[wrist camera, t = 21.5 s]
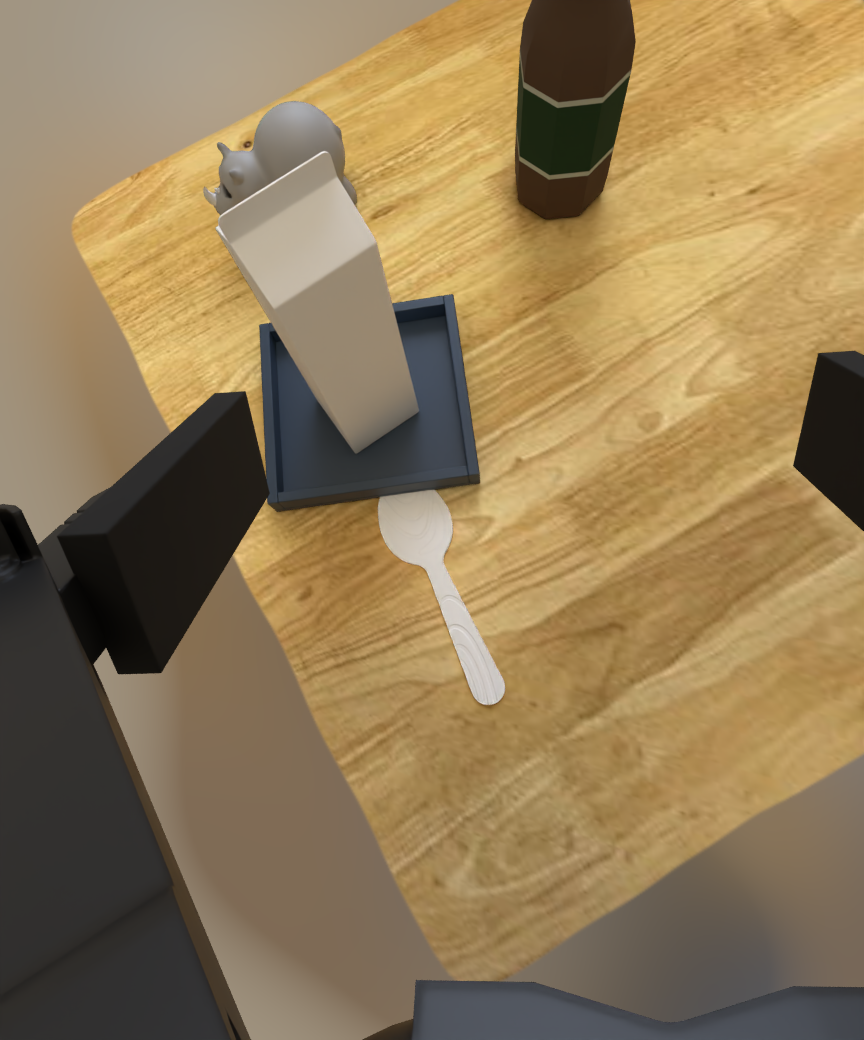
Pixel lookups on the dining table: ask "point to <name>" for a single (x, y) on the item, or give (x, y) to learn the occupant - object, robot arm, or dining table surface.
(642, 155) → the dining table surface
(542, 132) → the beer bottle
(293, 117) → the toy rhinoceros
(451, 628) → the spoon
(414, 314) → the tray
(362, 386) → the milk
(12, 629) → the robot arm
